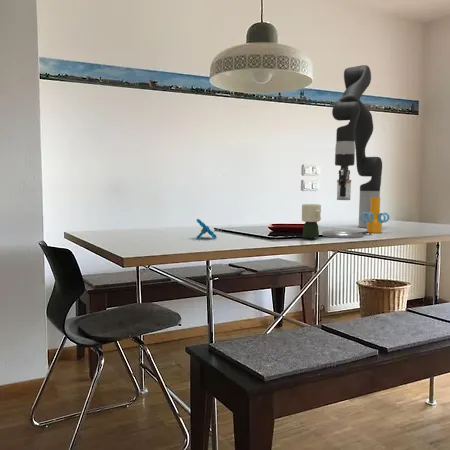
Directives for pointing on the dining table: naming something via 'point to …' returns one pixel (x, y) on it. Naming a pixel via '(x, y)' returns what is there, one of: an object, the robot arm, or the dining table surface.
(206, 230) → the blue piece
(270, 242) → the dining table surface
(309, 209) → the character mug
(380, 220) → the orange block with rings
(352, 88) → the robot arm
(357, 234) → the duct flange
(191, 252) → the dining table surface
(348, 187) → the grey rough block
